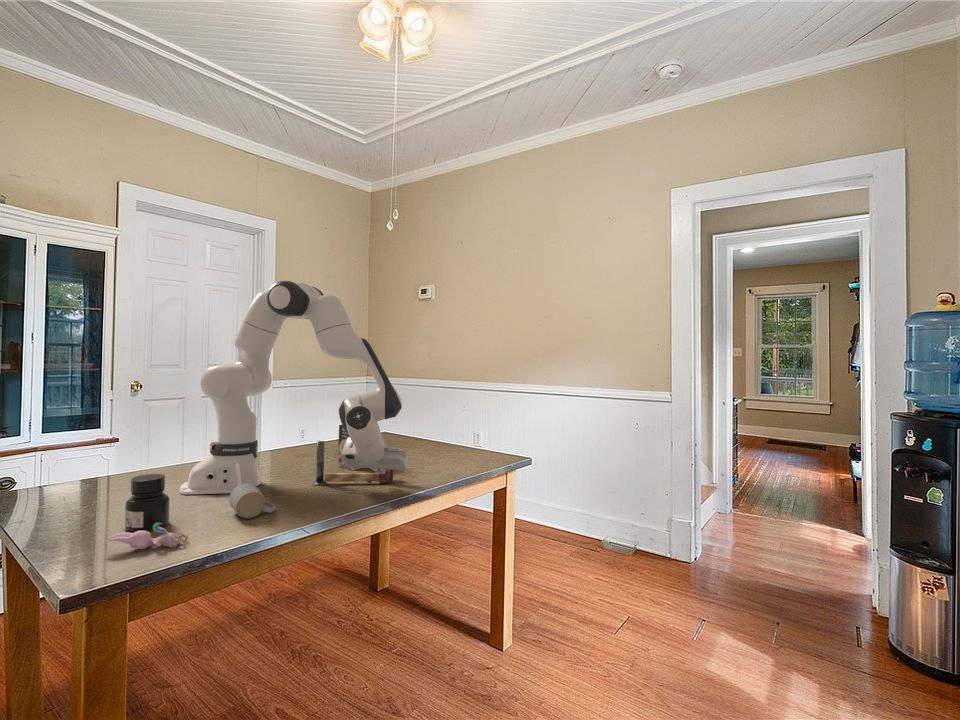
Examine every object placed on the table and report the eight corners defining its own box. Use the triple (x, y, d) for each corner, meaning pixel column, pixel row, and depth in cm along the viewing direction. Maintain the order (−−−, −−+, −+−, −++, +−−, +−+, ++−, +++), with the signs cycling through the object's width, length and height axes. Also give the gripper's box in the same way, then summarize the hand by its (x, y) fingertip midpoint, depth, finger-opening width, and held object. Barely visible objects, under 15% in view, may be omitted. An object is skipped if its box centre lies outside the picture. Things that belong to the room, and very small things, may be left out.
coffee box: (336, 467, 180) (337, 424, 180) (349, 463, 186) (350, 422, 185) (353, 470, 175) (354, 427, 175) (366, 467, 181) (367, 425, 181)
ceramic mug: (235, 522, 121) (237, 492, 121) (228, 513, 127) (229, 484, 127) (279, 515, 127) (280, 486, 127) (270, 507, 134) (271, 479, 134)
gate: (323, 484, 156) (324, 451, 155) (325, 481, 159) (326, 449, 159) (389, 483, 158) (390, 451, 158) (390, 480, 162) (391, 449, 162)
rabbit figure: (187, 545, 110) (109, 542, 104) (192, 519, 110) (114, 515, 104) (181, 556, 104) (98, 554, 98) (187, 529, 104) (104, 525, 99)
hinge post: (313, 486, 154) (314, 442, 154) (312, 482, 158) (313, 440, 158) (326, 485, 156) (327, 442, 156) (325, 481, 160) (326, 440, 159)
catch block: (377, 481, 162) (378, 466, 162) (378, 479, 164) (378, 465, 164) (392, 481, 162) (393, 466, 162) (392, 479, 165) (393, 465, 165)
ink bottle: (121, 524, 117) (122, 476, 117) (164, 516, 123) (165, 470, 123) (128, 536, 110) (129, 484, 110) (173, 527, 117) (174, 478, 116)
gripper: (406, 440, 147) (413, 465, 157) (342, 437, 149) (353, 461, 159) (401, 458, 142) (409, 482, 152) (336, 454, 145) (348, 478, 155)
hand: (380, 471), depth 156 cm, fingers closed
